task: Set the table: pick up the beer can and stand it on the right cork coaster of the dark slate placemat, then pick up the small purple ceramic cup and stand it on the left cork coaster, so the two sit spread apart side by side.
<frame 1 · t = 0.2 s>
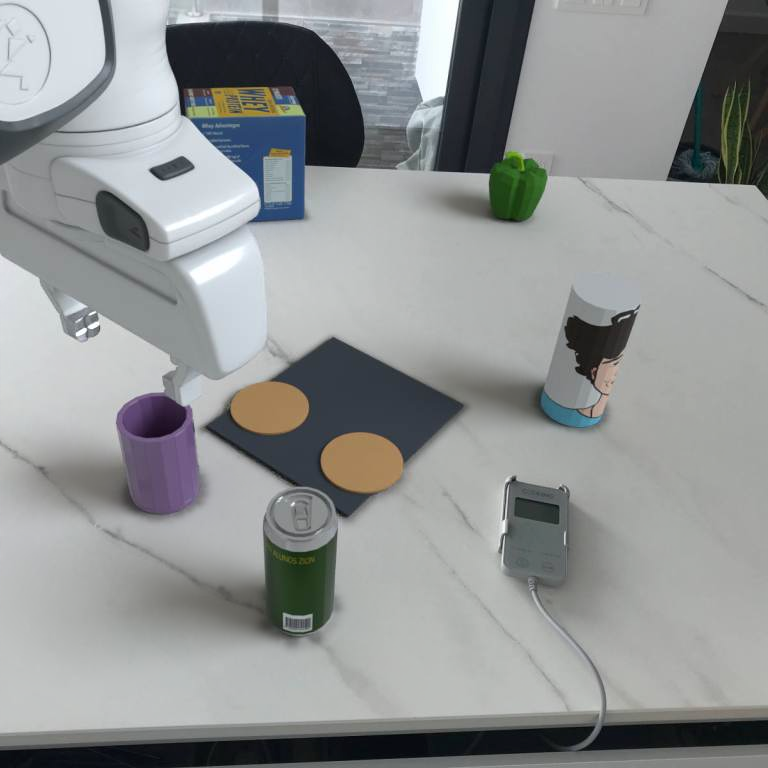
hand: (131, 364, 49), 23 cm above the table, tool pointing down, fingers open, 8 cm apart
beer can: (299, 611, 63), on the table
bell pepper: (510, 215, 118), on the table
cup: (571, 407, 85), on the table
placemat: (339, 417, 80), on the table
purple cup: (165, 488, 71), on the table
protein box: (247, 206, 114), on the table
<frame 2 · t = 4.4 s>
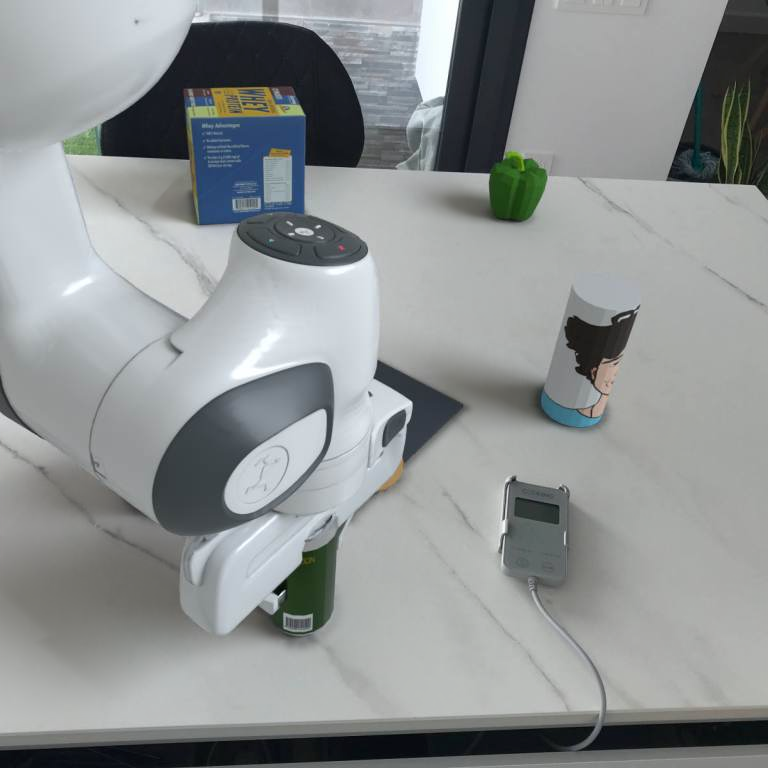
hand: (300, 574, 59), 5 cm above the table, tool pointing down, fingers closed on beer can, 5 cm apart
beer can: (300, 611, 63), on the table, touching gripper
everything else where it was.
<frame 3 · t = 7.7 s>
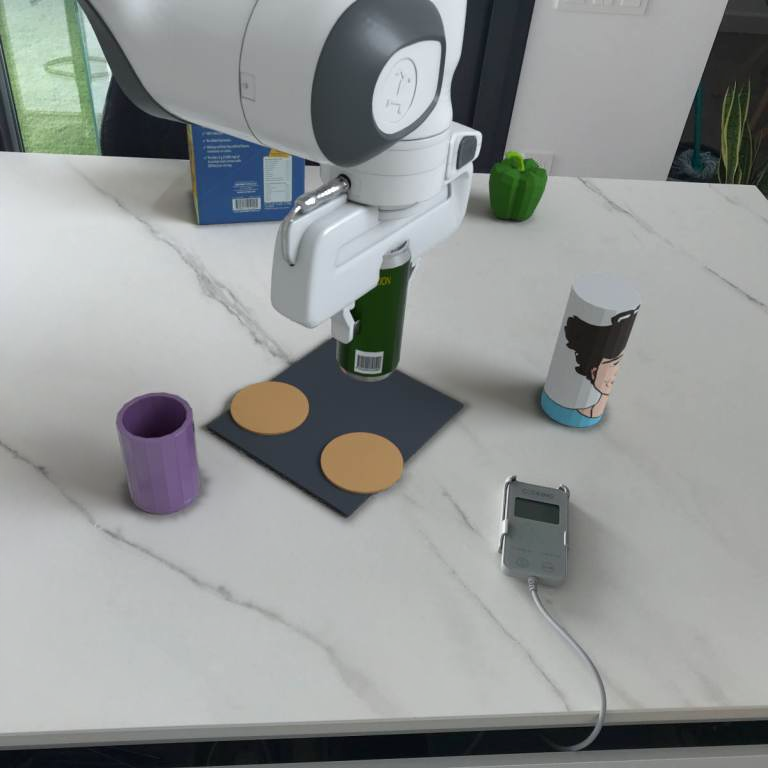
hand: (370, 318, 63), 18 cm above the table, tool pointing down, fingers closed on beer can, 5 cm apart
beer can: (367, 365, 66), point 13 cm above the table, touching gripper
everything else where it was.
when the fingers open (5 cm above the table, at t = 11.0 s): beer can stays where it is, resting on placemat.
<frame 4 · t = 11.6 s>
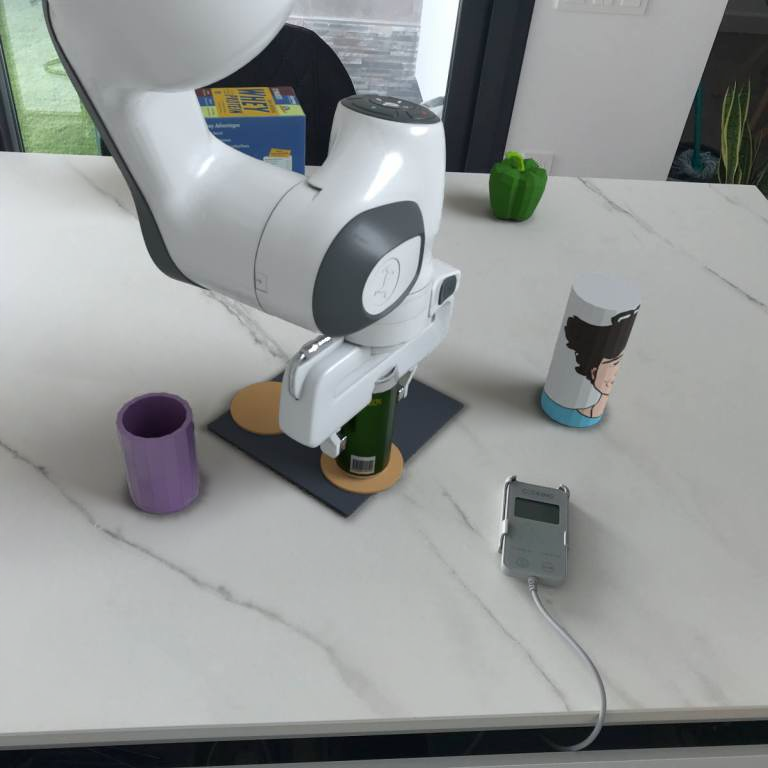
hand: (365, 423, 72), 6 cm above the table, tool pointing down, fingers open, 8 cm apart
beer can: (361, 462, 75), point 1 cm above the table, touching placemat
everything else where it was.
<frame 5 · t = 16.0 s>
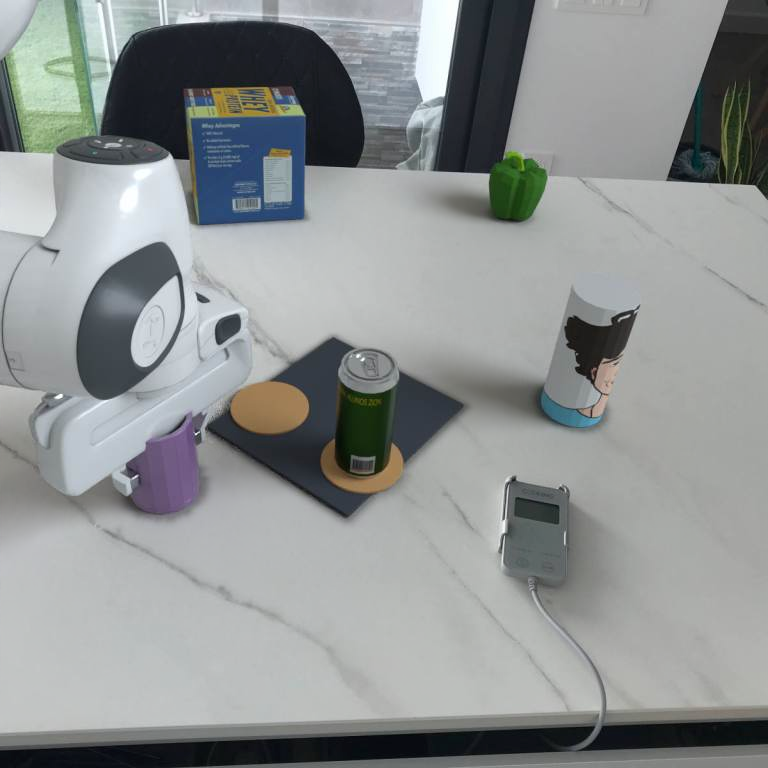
hand: (162, 463, 69), 3 cm above the table, tool pointing down, fingers closed on purple cup, 6 cm apart
purple cup: (165, 488, 71), on the table, touching gripper
everything else where it was.
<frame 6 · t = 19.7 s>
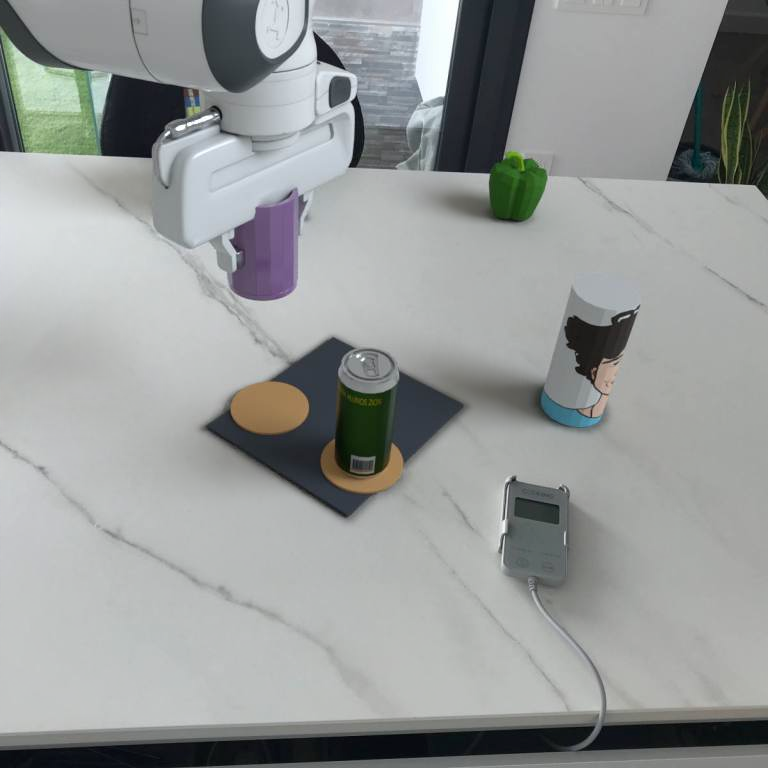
hand: (262, 251, 68), 19 cm above the table, tool pointing down, fingers closed on purple cup, 6 cm apart
purple cup: (262, 281, 70), point 16 cm above the table, touching gripper
everything else where it was.
when the fingers open (4 cm above the table, at t = 23.5 s): purple cup stays where it is, resting on placemat.
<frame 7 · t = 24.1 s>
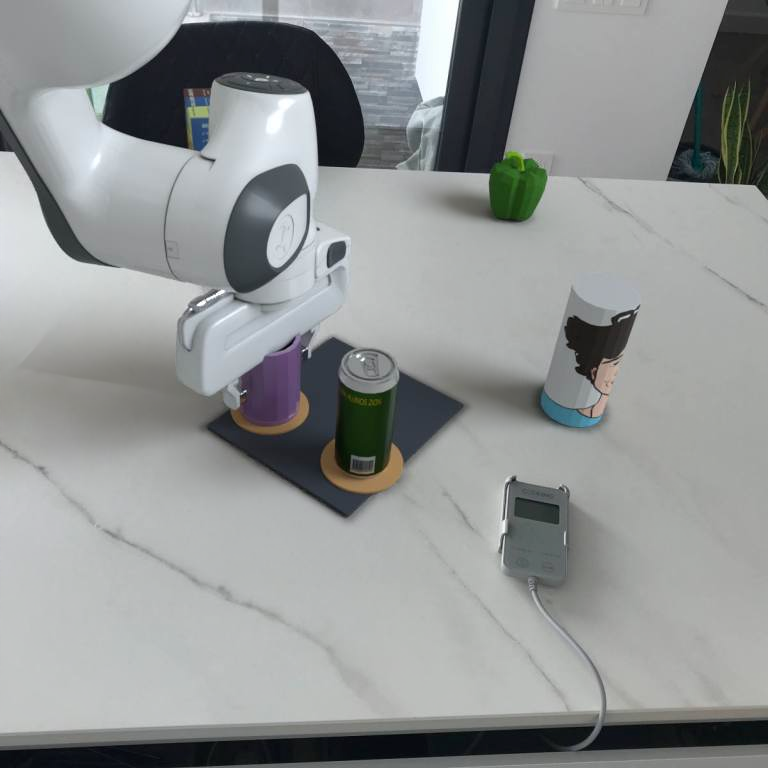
hand: (269, 380, 78), 4 cm above the table, tool pointing down, fingers open, 8 cm apart
purple cup: (269, 406, 80), point 1 cm above the table, touching placemat
everything else where it was.
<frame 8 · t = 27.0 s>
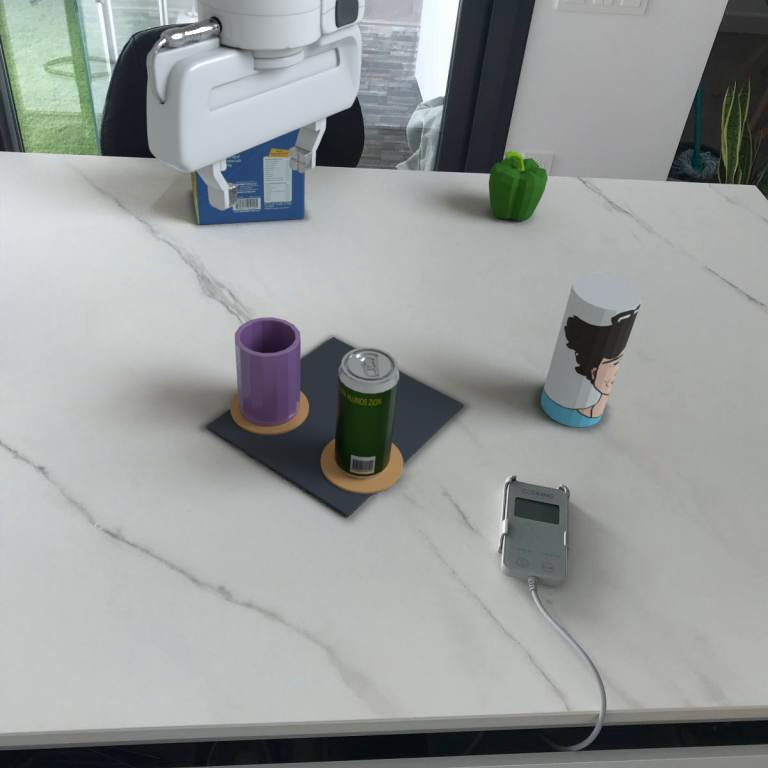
hand: (264, 186, 64), 25 cm above the table, tool pointing down, fingers open, 8 cm apart
nothing on the table moved.
at the end: beer can 0.1 cm from the target spot on the placemat, point 0.5 cm above the placemat's base; purple cup 0.0 cm from the target spot on the placemat, point 0.7 cm above the placemat's base; purple cup tilted 0° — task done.
